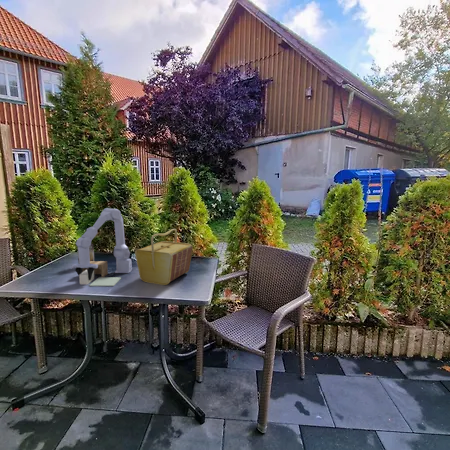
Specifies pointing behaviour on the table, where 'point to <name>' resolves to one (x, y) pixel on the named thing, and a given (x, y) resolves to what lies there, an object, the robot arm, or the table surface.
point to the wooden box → (99, 268)
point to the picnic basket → (163, 260)
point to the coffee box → (91, 253)
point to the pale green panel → (105, 281)
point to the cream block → (85, 277)
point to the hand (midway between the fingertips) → (85, 279)
